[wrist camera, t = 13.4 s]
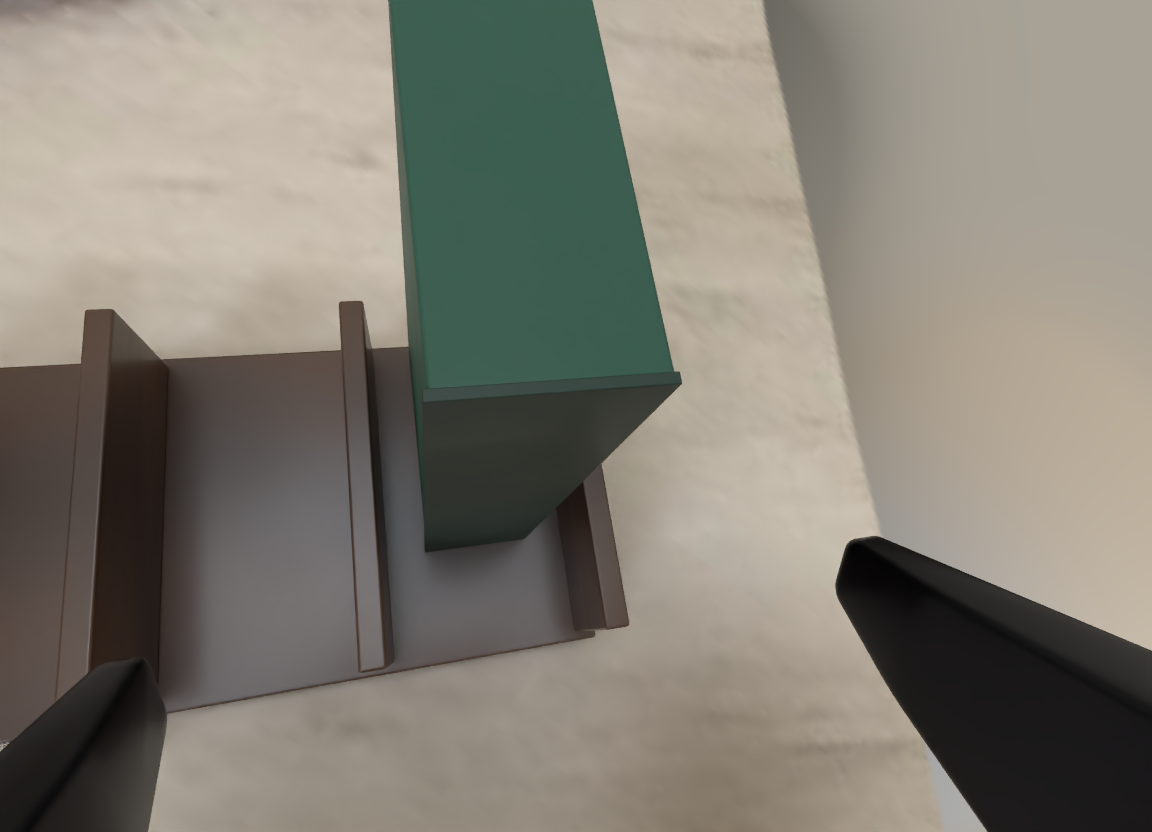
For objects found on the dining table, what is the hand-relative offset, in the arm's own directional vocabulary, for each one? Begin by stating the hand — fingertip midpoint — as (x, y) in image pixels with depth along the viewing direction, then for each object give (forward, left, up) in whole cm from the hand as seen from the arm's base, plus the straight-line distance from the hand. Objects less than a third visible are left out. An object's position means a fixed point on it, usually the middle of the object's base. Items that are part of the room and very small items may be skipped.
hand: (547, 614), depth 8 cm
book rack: (+5, +5, -11) cm, 13 cm away
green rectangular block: (+5, -1, -10) cm, 12 cm away
